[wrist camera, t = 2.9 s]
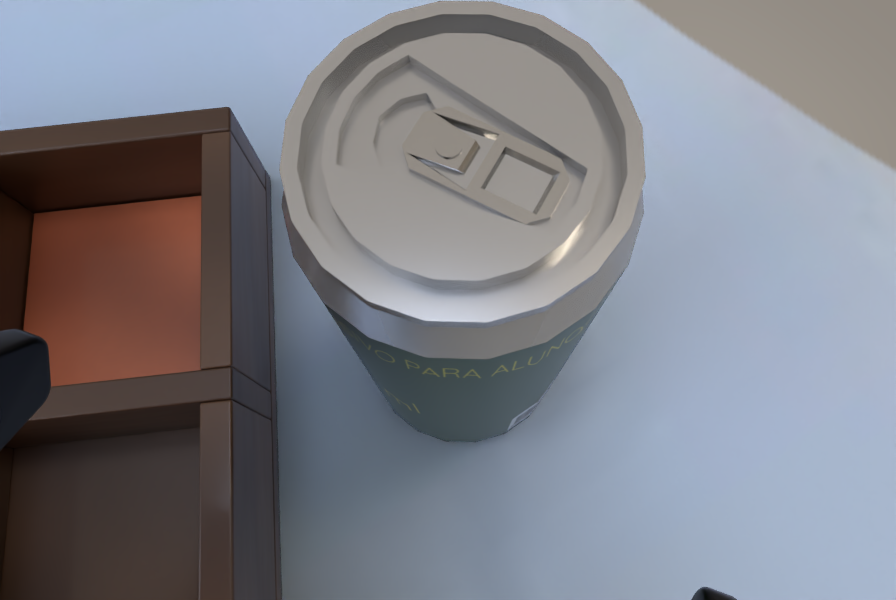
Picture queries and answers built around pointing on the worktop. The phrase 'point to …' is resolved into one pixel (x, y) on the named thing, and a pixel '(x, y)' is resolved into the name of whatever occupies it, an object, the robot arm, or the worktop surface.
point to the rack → (141, 362)
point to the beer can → (463, 205)
